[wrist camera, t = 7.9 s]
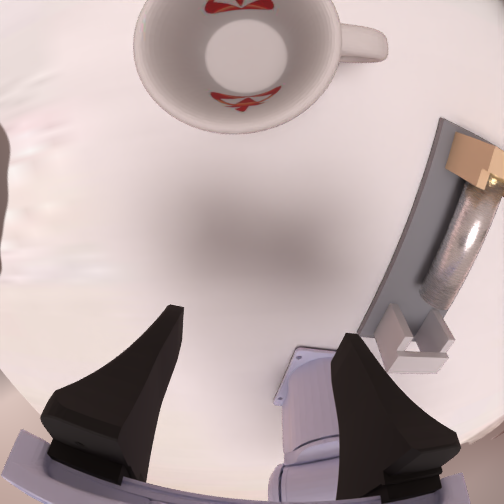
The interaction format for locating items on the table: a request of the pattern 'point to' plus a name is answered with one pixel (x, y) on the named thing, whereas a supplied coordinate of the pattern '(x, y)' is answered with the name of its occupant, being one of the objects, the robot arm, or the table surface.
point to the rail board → (427, 254)
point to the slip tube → (461, 242)
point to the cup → (244, 58)
